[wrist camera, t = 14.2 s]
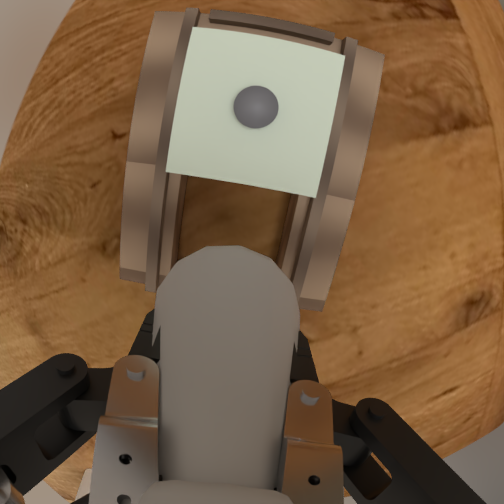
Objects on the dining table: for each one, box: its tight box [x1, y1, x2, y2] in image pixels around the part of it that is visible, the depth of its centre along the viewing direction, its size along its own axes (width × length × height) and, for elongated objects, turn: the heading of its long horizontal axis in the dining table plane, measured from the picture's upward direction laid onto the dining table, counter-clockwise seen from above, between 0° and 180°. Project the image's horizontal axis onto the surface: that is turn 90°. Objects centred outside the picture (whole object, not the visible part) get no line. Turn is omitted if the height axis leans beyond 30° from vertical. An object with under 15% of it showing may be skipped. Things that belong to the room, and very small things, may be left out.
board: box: [120, 8, 385, 311], centre depth 22 cm, size 20×16×4 cm
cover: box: [166, 27, 345, 198], centre depth 18 cm, size 9×9×4 cm
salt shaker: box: [121, 245, 300, 504], centre depth 9 cm, size 6×6×13 cm
